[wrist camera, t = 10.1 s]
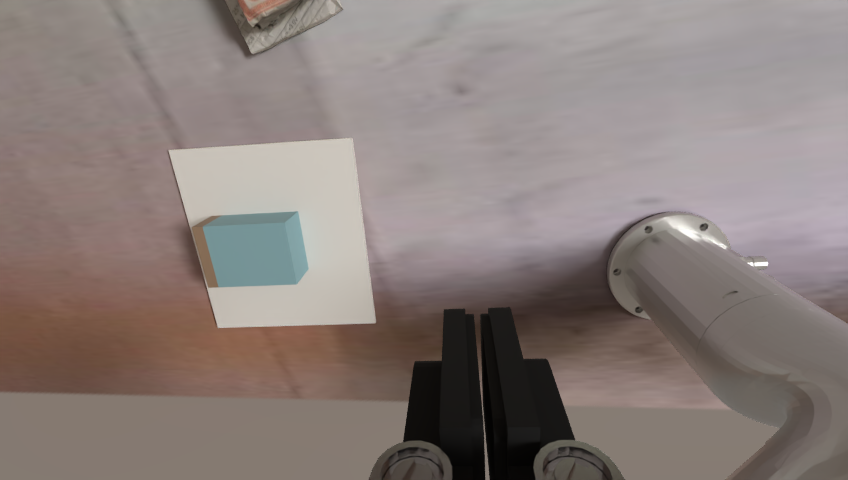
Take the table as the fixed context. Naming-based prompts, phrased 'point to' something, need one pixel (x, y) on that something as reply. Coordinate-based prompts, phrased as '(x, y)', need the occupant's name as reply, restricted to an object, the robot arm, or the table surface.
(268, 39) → the packaged product
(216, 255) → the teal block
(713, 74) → the table surface
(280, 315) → the board
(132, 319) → the table surface
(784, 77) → the table surface
